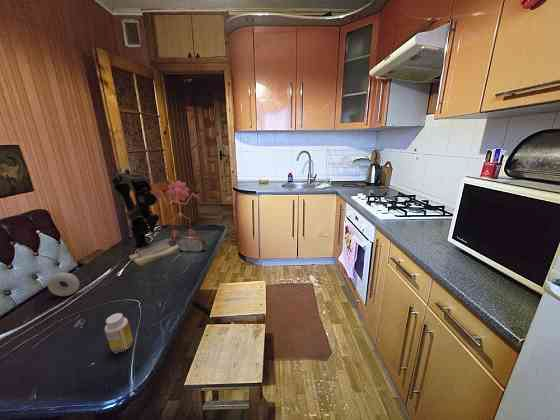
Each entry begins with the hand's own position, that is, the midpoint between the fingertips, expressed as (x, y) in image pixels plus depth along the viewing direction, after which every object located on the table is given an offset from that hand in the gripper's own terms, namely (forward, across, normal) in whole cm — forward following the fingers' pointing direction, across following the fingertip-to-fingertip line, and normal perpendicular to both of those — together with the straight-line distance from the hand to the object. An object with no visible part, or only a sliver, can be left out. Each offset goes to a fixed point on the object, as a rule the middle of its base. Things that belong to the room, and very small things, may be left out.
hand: (148, 230), depth 125 cm
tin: (+12, +18, +13) cm, 25 cm away
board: (+12, +5, 0) cm, 13 cm away
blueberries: (+13, +35, -39) cm, 54 cm away
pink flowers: (+12, -4, +22) cm, 25 cm away
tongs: (+10, +5, +1) cm, 12 cm away
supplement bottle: (+12, +56, -34) cm, 67 cm away
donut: (+12, +11, -38) cm, 41 cm away
